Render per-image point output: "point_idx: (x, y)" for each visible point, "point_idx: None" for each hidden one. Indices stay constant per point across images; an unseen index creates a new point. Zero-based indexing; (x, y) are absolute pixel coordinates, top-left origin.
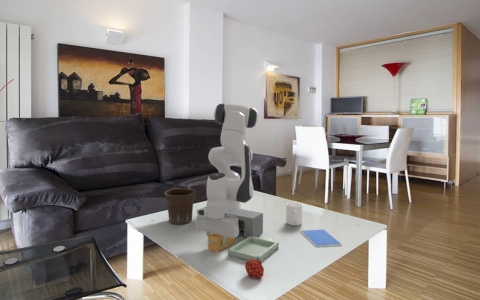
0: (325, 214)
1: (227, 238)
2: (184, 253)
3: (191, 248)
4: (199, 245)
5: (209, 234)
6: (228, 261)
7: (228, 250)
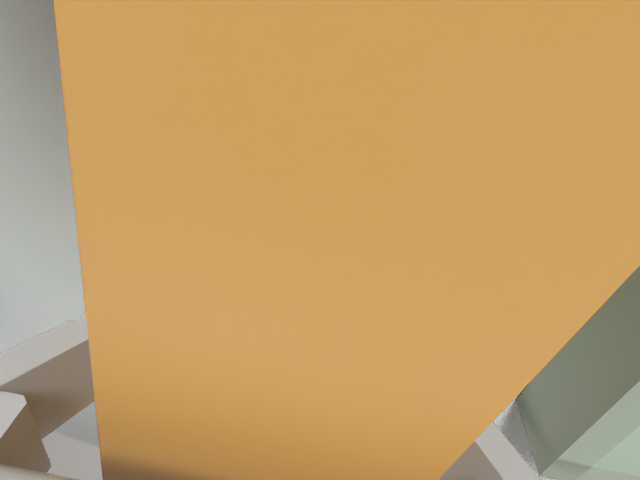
0: None
1: (528, 472)
2: (72, 421)
3: (24, 333)
4: (19, 243)
5: (35, 404)
6: (538, 475)
7: (540, 465)
